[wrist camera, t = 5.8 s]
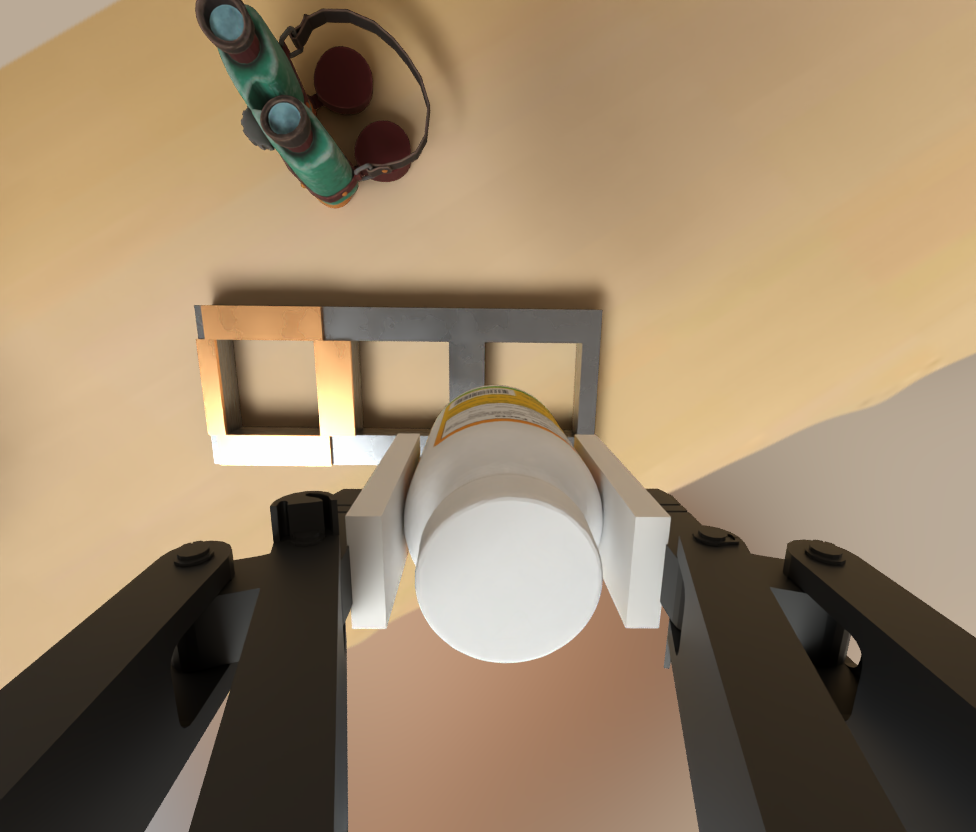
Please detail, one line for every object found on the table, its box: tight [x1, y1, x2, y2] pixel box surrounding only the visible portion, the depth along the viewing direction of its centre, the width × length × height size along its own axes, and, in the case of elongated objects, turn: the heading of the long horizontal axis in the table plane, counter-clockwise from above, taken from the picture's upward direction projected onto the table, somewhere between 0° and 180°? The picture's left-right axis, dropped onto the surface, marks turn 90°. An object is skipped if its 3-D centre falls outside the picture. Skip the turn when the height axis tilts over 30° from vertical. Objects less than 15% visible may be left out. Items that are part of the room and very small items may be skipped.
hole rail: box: [194, 305, 602, 466], centre depth 33 cm, size 27×11×2 cm, turn 89°
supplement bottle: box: [404, 385, 603, 663], centre depth 14 cm, size 5×5×10 cm
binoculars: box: [195, 0, 430, 208], centre depth 25 cm, size 9×11×10 cm
